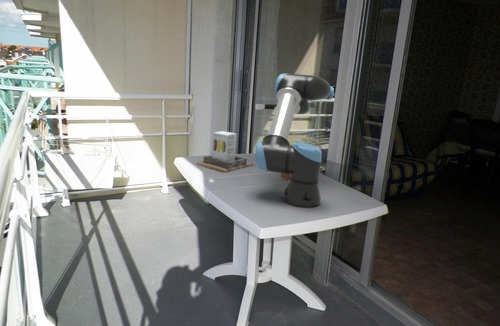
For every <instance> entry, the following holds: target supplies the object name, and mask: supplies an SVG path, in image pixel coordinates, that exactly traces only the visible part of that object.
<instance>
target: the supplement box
mask: <svg viewBox="0 0 500 326" xmlns="http://www.w3.org/2000/svg"><path fill="white" fill-rule="evenodd" d="M237 136H238V134H237V133H235V132H229V131H224V130H221V131H215V132H213V137H212V150H211V155H212V158H213V159H217V160H221V161H225V162H231V161H235V156H236V150H237V139H238V138H237Z"/></svg>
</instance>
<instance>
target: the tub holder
mask: <svg viewBox="0 0 500 326" xmlns="http://www.w3.org/2000/svg"><path fill="white" fill-rule="evenodd" d="M247 160H248V159H247V158H245V157H241V156H237V155H235V161H231V162H225V161H221V160H217V159H213V158H212V154H211V155H206V156H203V161H198V162H196V163H195V164H198V165H197V166H199V165H201V166H200V167H203V166H204V168H206V167H207V169H209V170H213V171H217V172H220V173H223V174H224V173H229V172H233V171H236V170H241V169H244V168H248V167H251V166H254V163H252V162H248V161H247Z"/></svg>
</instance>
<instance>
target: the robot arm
mask: <svg viewBox="0 0 500 326" xmlns="http://www.w3.org/2000/svg"><path fill="white" fill-rule="evenodd" d="M333 87H334V86H331V85H330V83H329V82H328V81H327V80H325V79H324V78H322V77H320V76H316V75H313V74H312V75H309V74H308V75H307V74H301V73H300V74H297V73H289V72H288V73H281V74H279V75H278V76H277V78H276V80H275V84H274V96H275V98H276V99H277V103H276V104H271V103H268V104H267V103H261V104H260V103H258V104H257V103H256V104H255V110H262V111H264V110H274V111H273V112H274V113H273V116H272V120H271V124H270V128H269V131H268V133H267V134H266V135H265V136H264V137H263V139H262V141H261V140H260V141H257V142H256V144H255V145H256V146H255V151H254V152H255V153H254V154H255V155H254V156H255V157H254V159H255V166H256V168H257V169H258V170H259V171H264V172H272V173H279V174H281V173H284V174H290V179H289V180H288V183H287V185H286V187H285V189H284V192H283V197H282V199H283V201H284V202H286V203H287V204H288V205H292V206H295V207H299V208H300V207H301V208H312V207H313V208H315V207H318V206H320V205H321V200H322V198H321V192H320V188H319V182H320V181H319V180H320V173H321V164H322V162H323V161H322V154H323V152H322V150H321V148H319V147H318V146H316V145H313V144H311V143H306V142H300V141H295V142H293V143H292V145H291V143H290V141H289V136H290V131H291V128H292V124H293V120H294V116H295V115H307V114H308V113H309V112H310V111H311V103H310V102H309V101H322V100H330V101H331V99H332V98H333V96H334V97H335V93H334V88H333ZM332 100H333V99H332Z"/></svg>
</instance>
